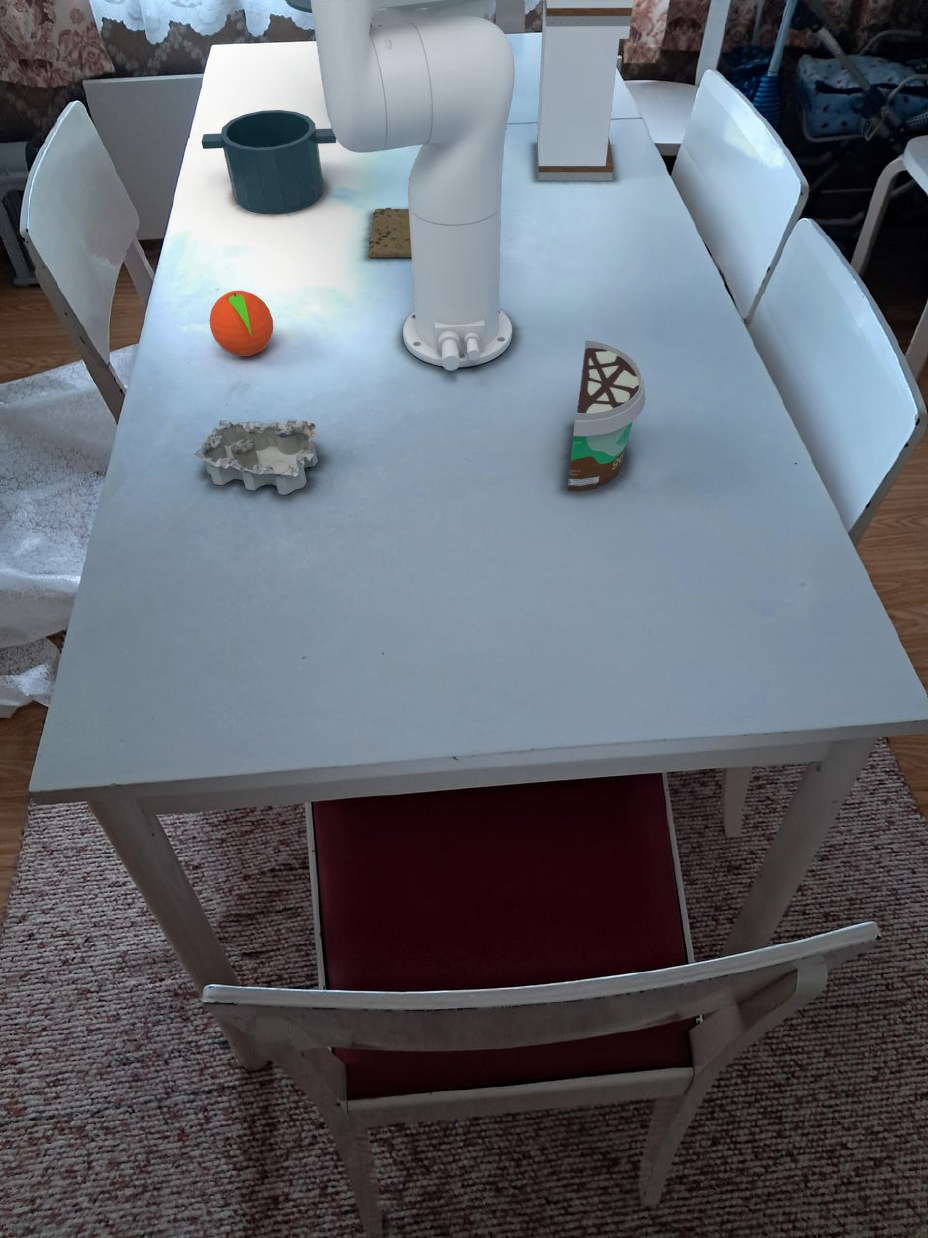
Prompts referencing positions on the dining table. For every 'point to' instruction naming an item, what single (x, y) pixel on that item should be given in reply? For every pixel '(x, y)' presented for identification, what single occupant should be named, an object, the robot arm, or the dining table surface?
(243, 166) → the pot
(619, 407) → the food container
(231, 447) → the egg carton
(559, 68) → the striped white pillar
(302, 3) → the pot lid
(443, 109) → the robot arm
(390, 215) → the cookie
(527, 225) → the dining table surface
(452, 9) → the soup tureen
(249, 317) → the clementine
